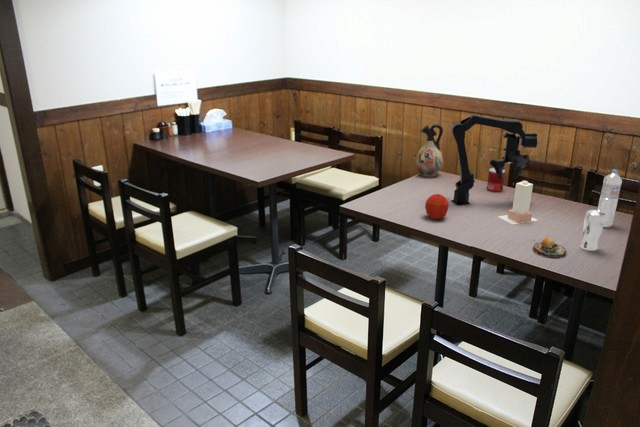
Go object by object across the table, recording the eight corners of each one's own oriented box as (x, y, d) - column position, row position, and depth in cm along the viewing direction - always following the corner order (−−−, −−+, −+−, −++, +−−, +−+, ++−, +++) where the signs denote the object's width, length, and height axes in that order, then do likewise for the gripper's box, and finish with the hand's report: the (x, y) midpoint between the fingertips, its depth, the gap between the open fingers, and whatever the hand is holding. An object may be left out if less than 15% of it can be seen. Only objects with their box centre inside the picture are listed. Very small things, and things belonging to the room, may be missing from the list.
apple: (420, 217, 233) (422, 193, 229) (432, 211, 240) (434, 188, 236) (440, 223, 226) (442, 199, 222) (451, 217, 233) (454, 193, 229)
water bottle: (610, 223, 227) (622, 168, 218) (613, 228, 221) (625, 173, 212) (593, 221, 229) (604, 167, 220) (595, 226, 223) (607, 171, 214)
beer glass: (575, 244, 206) (582, 209, 200) (591, 244, 206) (599, 209, 201) (585, 252, 199) (592, 216, 194) (602, 251, 200) (610, 215, 194)
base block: (518, 222, 224) (519, 215, 223) (507, 217, 230) (508, 210, 229) (531, 220, 226) (532, 213, 225) (520, 215, 232) (521, 208, 231)
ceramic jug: (411, 177, 290) (415, 124, 279) (417, 170, 304) (421, 119, 293) (442, 180, 285) (447, 127, 274) (446, 173, 298) (451, 121, 287)
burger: (571, 258, 195) (575, 240, 192) (541, 259, 194) (544, 241, 191) (555, 245, 206) (558, 228, 203) (527, 246, 205) (530, 228, 203)
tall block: (512, 211, 227) (516, 181, 222) (518, 208, 230) (523, 179, 225) (522, 214, 224) (526, 184, 219) (528, 212, 226) (533, 181, 221)
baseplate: (512, 227, 223) (512, 224, 222) (497, 218, 232) (497, 216, 231) (537, 222, 227) (538, 220, 227) (522, 214, 236) (522, 212, 236)
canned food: (503, 193, 265) (506, 172, 261) (487, 191, 267) (490, 171, 263) (501, 188, 272) (504, 168, 268) (486, 187, 274) (488, 167, 270)
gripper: (507, 153, 228) (502, 186, 234) (540, 149, 234) (535, 182, 240) (491, 147, 238) (487, 179, 244) (523, 144, 244) (519, 175, 250)
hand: (507, 179), depth 244 cm, fingers open, 9 cm apart
